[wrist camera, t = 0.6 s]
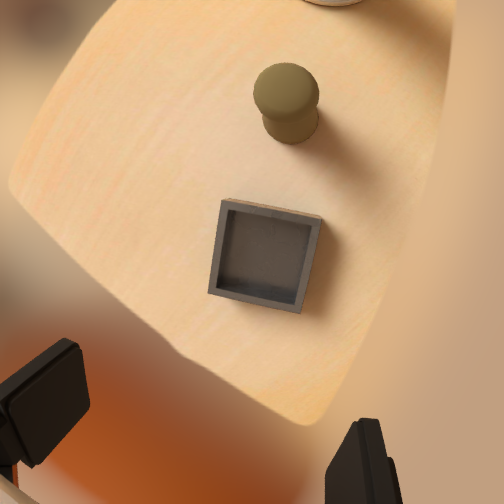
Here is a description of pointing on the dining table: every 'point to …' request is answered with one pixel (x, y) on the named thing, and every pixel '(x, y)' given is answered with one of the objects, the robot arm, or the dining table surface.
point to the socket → (263, 254)
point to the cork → (287, 102)
